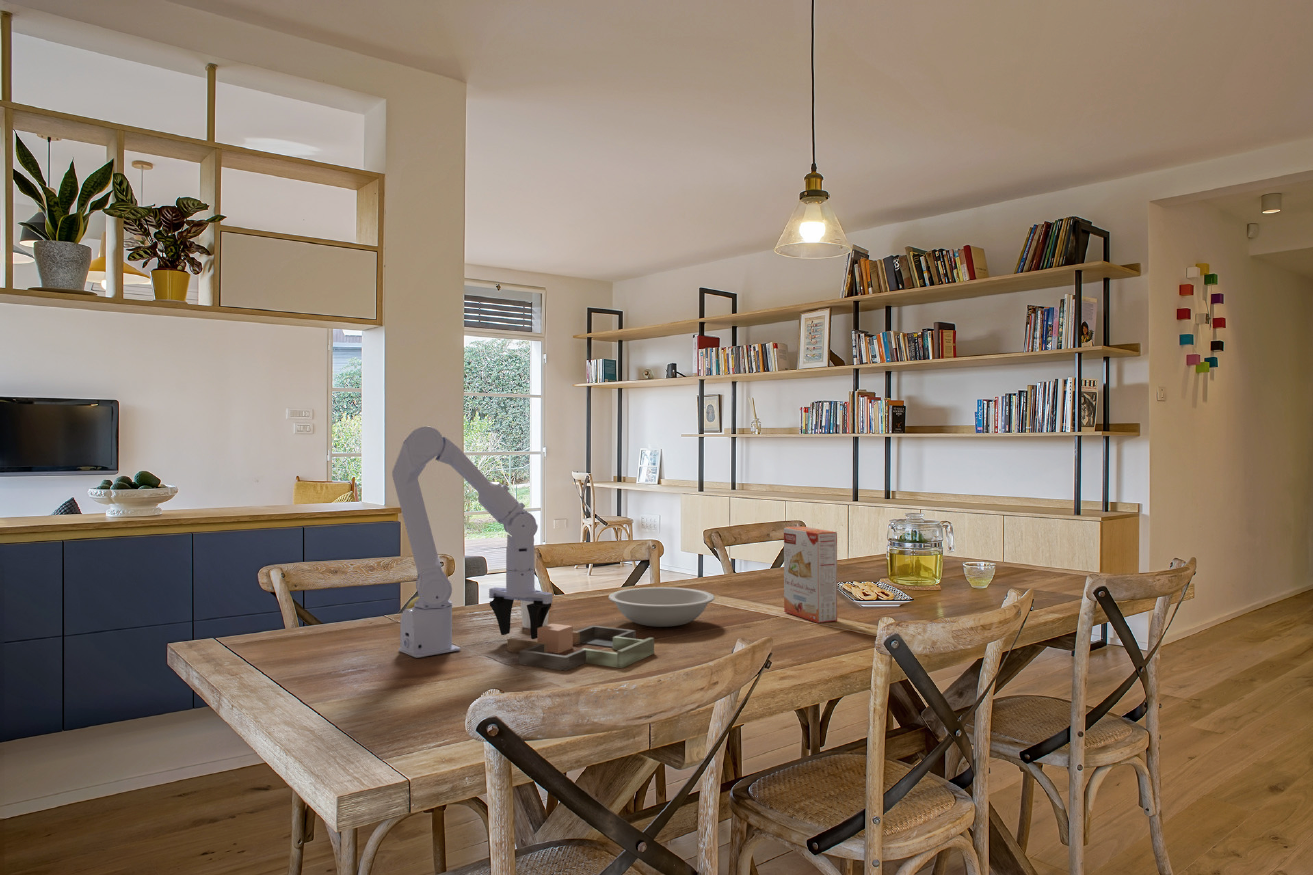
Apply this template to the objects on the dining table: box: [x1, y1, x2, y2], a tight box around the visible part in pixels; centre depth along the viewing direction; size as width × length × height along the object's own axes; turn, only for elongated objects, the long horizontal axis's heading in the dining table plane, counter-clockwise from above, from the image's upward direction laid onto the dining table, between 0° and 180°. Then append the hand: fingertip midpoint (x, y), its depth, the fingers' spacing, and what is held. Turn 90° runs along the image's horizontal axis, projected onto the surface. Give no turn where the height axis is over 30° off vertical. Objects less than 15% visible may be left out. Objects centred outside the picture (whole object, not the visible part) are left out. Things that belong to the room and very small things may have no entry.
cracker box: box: [783, 525, 838, 624], centre depth 200 cm, size 14×6×21 cm, turn 25°
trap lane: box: [506, 625, 655, 672], centre depth 165 cm, size 26×25×3 cm
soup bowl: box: [608, 586, 716, 628], centre depth 191 cm, size 24×24×7 cm
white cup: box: [519, 597, 550, 629], centre depth 189 cm, size 7×7×7 cm
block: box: [536, 623, 574, 654], centre depth 168 cm, size 5×5×4 cm
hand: (520, 636), depth 172 cm, fingers open, 7 cm apart
